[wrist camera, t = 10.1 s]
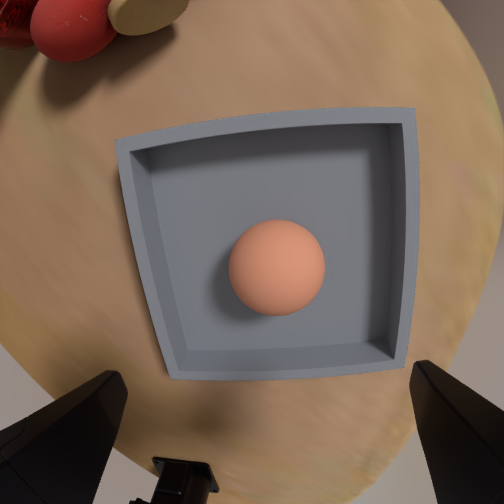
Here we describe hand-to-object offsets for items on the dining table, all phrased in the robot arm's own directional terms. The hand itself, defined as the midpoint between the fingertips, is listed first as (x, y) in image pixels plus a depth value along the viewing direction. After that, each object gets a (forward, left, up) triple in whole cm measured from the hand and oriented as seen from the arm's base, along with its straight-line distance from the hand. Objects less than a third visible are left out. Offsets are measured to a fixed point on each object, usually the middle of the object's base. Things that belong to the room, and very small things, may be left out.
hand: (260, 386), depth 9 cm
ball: (0, 0, -9) cm, 9 cm away
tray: (0, 0, -12) cm, 12 cm away
